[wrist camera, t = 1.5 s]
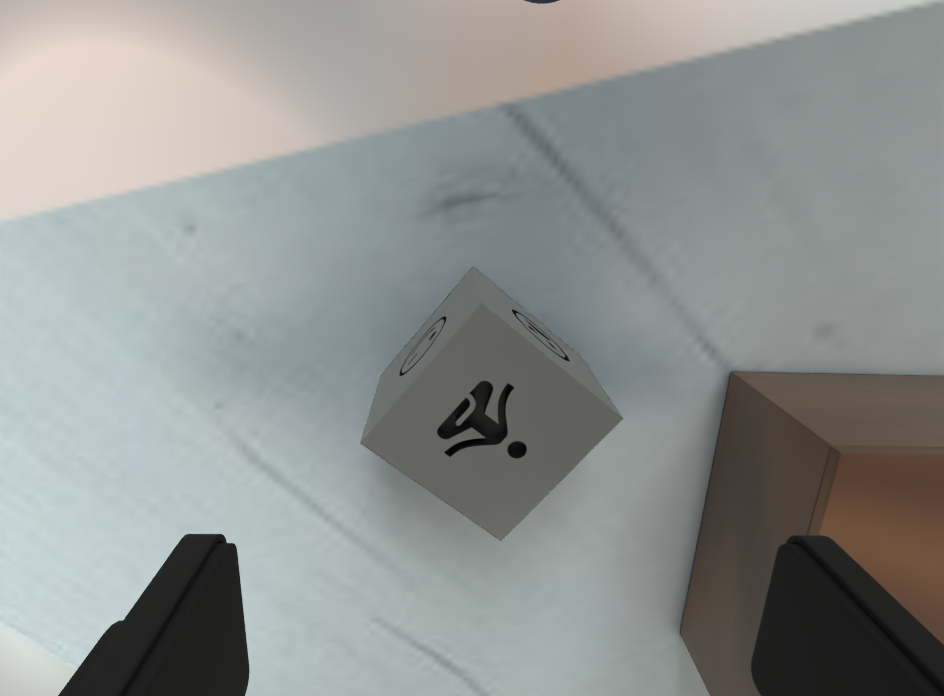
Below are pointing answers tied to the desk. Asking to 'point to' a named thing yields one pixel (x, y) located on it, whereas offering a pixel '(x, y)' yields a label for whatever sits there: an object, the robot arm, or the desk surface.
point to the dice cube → (487, 407)
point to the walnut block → (816, 501)
